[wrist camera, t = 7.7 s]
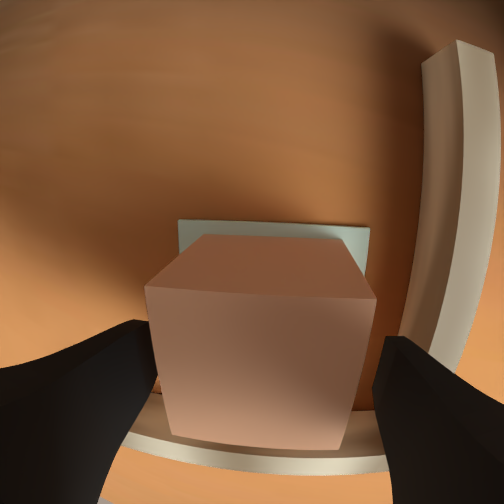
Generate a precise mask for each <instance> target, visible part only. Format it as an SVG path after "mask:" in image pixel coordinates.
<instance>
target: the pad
mask: <svg viewBox="0 0 504 504" xmlns="http://www.w3.org/2000/svg"><path fill="white" fill-rule="evenodd" d="M203 234H220V235H248V236H274V237H297V238H319V239H340V240H343V242H344V243H345V245H346V247H347V248H348V250H349V252H350V253H351V255H352V257H353V258H354V260H355V262H356V263H357V265H358V267H359V268H360V270H361V272H362V274H363V275H364V277H365V270H366V262H367V254H368V245H369V236H370V228H369V227H354V226H337V225H319V224H299V223H278V222H254V221H225V220H188V219H179V220H178V238H179V255H180V254H181V253H182V252H183V251H184V250H185V249H187V248H188V247H189V246H190V245H191V244H192V243H194V242H195V241H196V240H197V239H198V238H199V237H201V236H202V235H203Z"/></svg>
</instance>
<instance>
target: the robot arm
mask: <svg viewBox="0 0 504 504" xmlns="http://www.w3.org/2000/svg"><path fill="white" fill-rule="evenodd" d="M157 375H158V371H157V366H156V361H155V356H154V350H153V344H152V338H151V332H150V326H149V321H142V320H135V319H132V320H129V321H126V322H124V323H121V324H119V325H117V326H115V327H112V328H110V329H108V330H106V331H104V332H102V333H99V334H97V335H95V336H93V337H91V338H89V339H86V340H84V341H82V342H80V343H78V344H75V345H73V346H70V347H68V348H66V349H63V350H61V351H58V352H56V353H54V354H51V355H48V356H45V357H43V358H40V359H36V360H33V361H30V362H26V363H23V364H19V365H15V366H10V367H5V368H0V504H97V502H98V499H99V496H100V493H101V491H102V488H103V485H104V482H105V479H106V477H107V474H108V472H109V469H110V467H111V465H112V462H113V460H114V457H115V455H116V453H117V451H118V449H119V447H120V446H121V444H122V442H123V440H124V439H125V437H126V435H127V434H128V432H129V430H130V429H131V427H132V425H133V424H134V422H135V420H136V418H137V417H138V415H139V413H140V412H141V410H142V408H143V407H144V405H145V403H146V401H147V399H148V398H149V396H150V393H151V391H152V388H153V386H154V383H155V381H156V378H157ZM372 392H373V401H374V408H375V415H376V419H377V423H378V427H379V431H380V435H381V439H382V443H383V447H384V451H385V455H386V459H387V463H388V467H389V472H390V478H391V484H392V495H393V504H504V404H502V403H500V402H498V401H496V400H494V399H493V398H491V397H489V396H487V395H486V394H484V393H482V392H481V391H479V390H477V389H476V388H474V387H473V386H471V385H470V384H469V383H467V382H466V381H464V380H463V379H461V378H460V377H458V376H457V375H456V374H454V373H453V372H452V371H450V370H449V369H448V368H446V367H445V366H444V365H442V364H441V363H440V362H438V361H437V360H436V359H435V358H433V357H432V356H431V355H430V354H428V353H427V352H426V351H424V350H423V349H422V348H421V347H419V346H418V345H417V344H415V343H414V342H413V341H411V340H410V339H408V338H407V337H405V336H386V337H385V341H384V346H383V350H382V354H381V357H380V361H379V365H378V369H377V372H376V376H375V380H374V383H373V386H372Z"/></svg>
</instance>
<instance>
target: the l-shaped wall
mask: <svg viewBox="0 0 504 504" xmlns="http://www.w3.org/2000/svg"><path fill="white" fill-rule="evenodd" d="M421 69H422V82H423V102H424V157H423V178H422V192H421V204H420V214H419V223H418V231H417V239H416V246H415V253H414V259H413V265H412V271H411V277H410V282H409V288H408V293H407V298H406V302H405V307H404V311H403V316H402V320H401V324H400V328H399V333H398V336H405V337H407V338H408V339H410V340H411V341H413V342H414V343H415V344H417V345H418V346H419V347H421V348H422V349H423V350H424V351H426V352H427V353H428V354H430V355H431V356H432V357H433V358H435V359H436V360H437V361H438V362H440V363H441V364H442V365H444V366H445V367H446V368H448V369H449V370H450V371H452V372H453V373H455V371H456V368H457V366H458V363H459V361H460V358H461V355H462V353H463V350H464V347H465V344H466V342H467V339H468V336H469V333H470V330H471V327H472V324H473V320H474V317H475V314H476V310H477V307H478V303H479V300H480V296H481V292H482V288H483V284H484V280H485V276H486V271H487V267H488V262H489V257H490V252H491V246H492V240H493V234H494V228H495V220H496V213H497V204H498V193H499V181H500V160H501V125H500V105H499V92H498V82H497V74H496V66H495V60H494V54H493V53H491V52H489V51H486V50H484V49H481V48H479V47H476V46H473V45H471V44H468V43H465V42H462V41H459V40H455V41H453V42H452V43H450V44H449V45H447V46H446V47H444V48H443V49H441V50H440V51H439V52H437V53H436V54H434V55H433V56H431V57H430V58H428V59H427V60H426V61H424V62H423V63H421ZM121 446H124V447H127V448H131V449H134V450H138V451H141V452H145V453H149V454H152V455H156V456H160V457H164V458H169V459H173V460H177V461H182V462H187V463H192V464H197V465H203V466H209V467H215V468H221V469H228V470H236V471H244V472H254V473H266V474H281V475H351V474H365V473H376V472H386V471H389V467H388V463H387V459H386V455H385V451H384V447H383V443H382V439H381V435H380V431H379V427H378V423H377V419H376V415H375V410H372V411H351V413H350V416H349V420H348V423H347V426H346V429H345V432H344V436H343V439H342V442H341V445H340V448H339V450H294V449H274V448H260V447H249V446H240V445H231V444H224V443H217V442H210V441H204V440H198V439H192V438H186V437H181V436H176V435H172V433H171V429H170V425H169V421H168V417H167V413H166V409H165V404H164V400H163V396H162V395H161V394H156V393H152V392H151V393H150V396H149V398H148V399H147V401H146V403H145V405H144V407H143V408H142V410H141V412H140V413H139V415H138V417H137V418H136V420H135V422H134V424H133V425H132V427H131V429H130V430H129V432H128V434H127V435H126V437H125V439H124V440H123V442H122V444H121Z"/></svg>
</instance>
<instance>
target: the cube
mask: <svg viewBox="0 0 504 504" xmlns="http://www.w3.org/2000/svg"><path fill="white" fill-rule="evenodd" d="M144 290H145V298H146V305H147V312H148V319H149V326H150V332H151V338H152V344H153V350H154V356H155V361H156V366H157V371H158V377H159V381H160V386H161V391H162V396H163V400H164V404H165V409H166V413H167V417H168V421H169V425H170V429H171V433H172V435H176V436H181V437H186V438H192V439H198V440H204V441H210V442H217V443H224V444H231V445H240V446H249V447H260V448H274V449H294V450H339V448H340V445H341V442H342V439H343V436H344V432H345V429H346V426H347V423H348V420H349V416H350V413H351V410H352V406H353V403H354V399H355V396H356V392H357V388H358V385H359V381H360V377H361V373H362V369H363V365H364V360H365V356H366V352H367V347H368V343H369V338H370V333H371V329H372V324H373V318H374V313H375V308H376V302H377V298H376V296H375V294H374V293H373V291H372V289H371V287H370V286H369V284H368V282H367V280H366V279H365V277H364V275H363V274H362V272H361V270H360V268H359V267H358V265H357V263H356V262H355V260H354V258H353V257H352V255H351V253H350V252H349V250H348V248H347V247H346V245H345V243H344V242H343V240H340V239H319V238H297V237H274V236H248V235H220V234H203V235H202V236H201V237H199V238H198V239H197V240H196V241H195V242H194V243H192V244H191V245H190V246H189V247H188V248H187V249H185V250H184V251H183V252H182V253H181V254H180V255H178V256H177V257H176V258H175V259H174V260H173V261H172V262H170V263H169V264H168V265H167V266H166V267H165V268H164V269H162V270H161V271H160V272H159V273H158V274H157V275H156V276H154V277H153V278H152V279H151V280H150V281H149V282H148V283H147V284H145V285H144Z"/></svg>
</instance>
